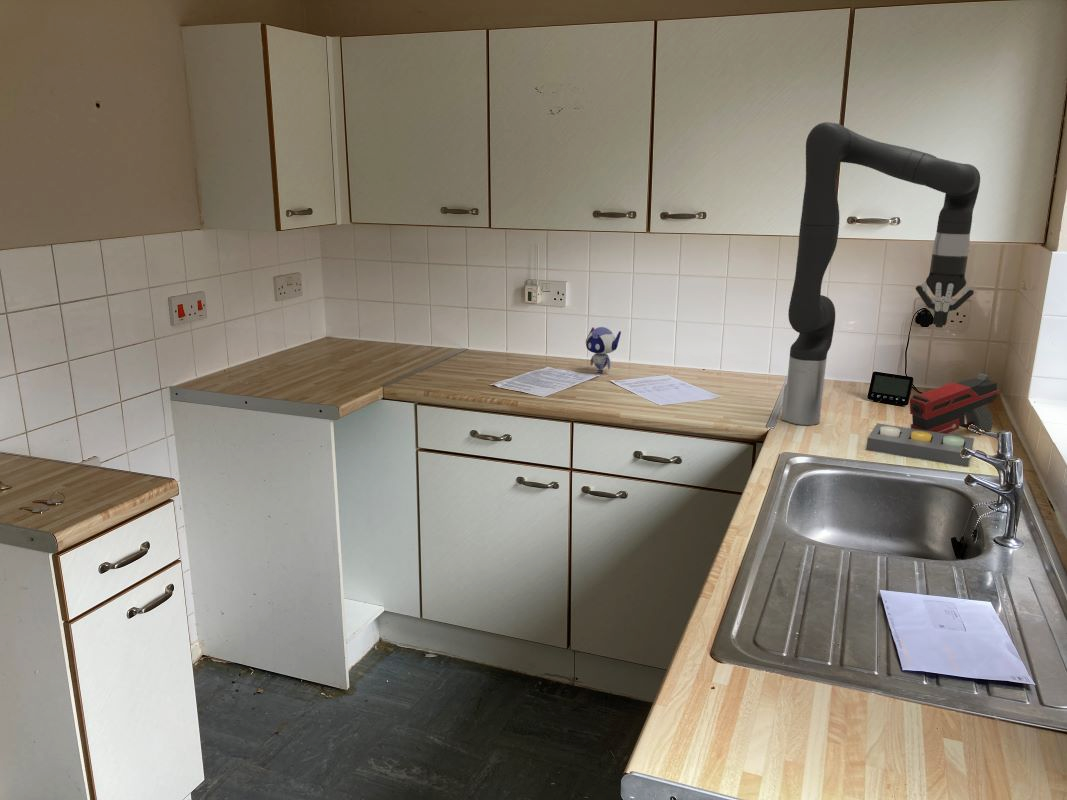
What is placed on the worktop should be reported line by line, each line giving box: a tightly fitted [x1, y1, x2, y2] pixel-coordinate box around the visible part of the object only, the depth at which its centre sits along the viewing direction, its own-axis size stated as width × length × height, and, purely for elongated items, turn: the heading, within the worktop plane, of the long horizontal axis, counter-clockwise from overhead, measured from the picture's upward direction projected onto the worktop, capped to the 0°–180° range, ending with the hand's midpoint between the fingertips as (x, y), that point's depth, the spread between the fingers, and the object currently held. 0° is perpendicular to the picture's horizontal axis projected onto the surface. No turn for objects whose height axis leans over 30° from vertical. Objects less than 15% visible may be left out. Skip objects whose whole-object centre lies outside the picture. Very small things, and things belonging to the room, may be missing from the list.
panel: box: [865, 423, 975, 467], centre depth 203 cm, size 22×14×3 cm, turn 60°
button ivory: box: [880, 426, 900, 437], centre depth 207 cm, size 4×4×4 cm
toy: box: [585, 326, 622, 374], centre depth 271 cm, size 11×10×15 cm
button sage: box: [943, 436, 964, 447], centre depth 200 cm, size 4×4×4 cm
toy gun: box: [909, 372, 1000, 434], centre depth 215 cm, size 5×24×15 cm, turn 110°
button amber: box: [911, 431, 932, 442], centre depth 203 cm, size 4×4×4 cm
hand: (939, 326), depth 201 cm, fingers closed
